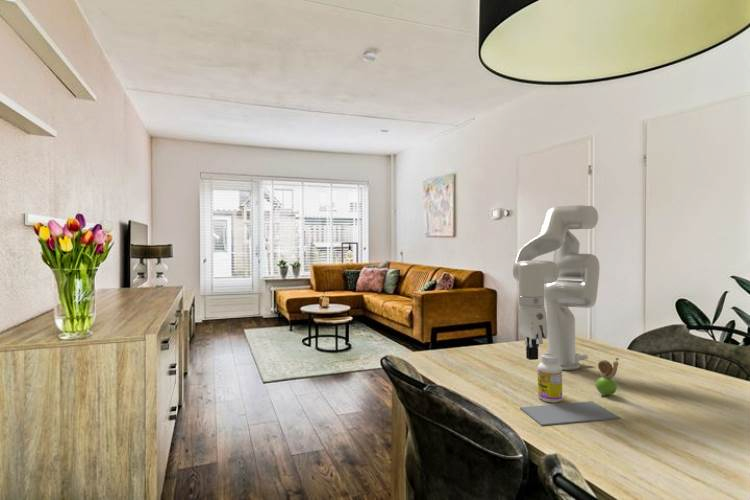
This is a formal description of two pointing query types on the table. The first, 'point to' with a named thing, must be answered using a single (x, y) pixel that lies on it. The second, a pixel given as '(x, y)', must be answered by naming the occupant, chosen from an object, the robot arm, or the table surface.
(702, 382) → the table surface
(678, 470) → the table surface
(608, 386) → the snail figurine
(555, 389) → the supplement bottle
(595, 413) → the mat
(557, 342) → the robot arm
